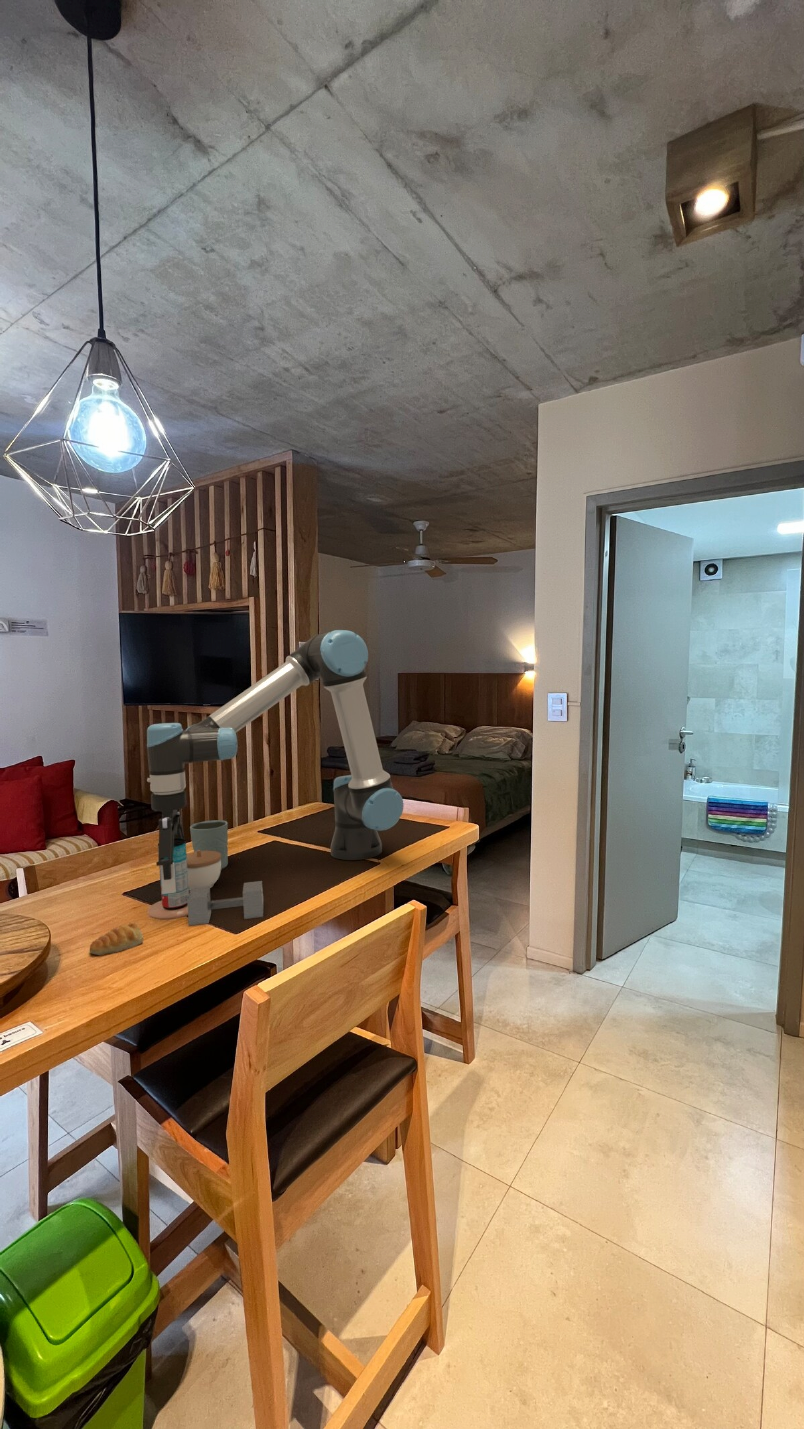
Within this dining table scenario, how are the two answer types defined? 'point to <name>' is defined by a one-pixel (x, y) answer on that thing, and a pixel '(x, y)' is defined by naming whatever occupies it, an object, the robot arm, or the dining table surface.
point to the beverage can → (177, 878)
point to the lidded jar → (203, 868)
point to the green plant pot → (211, 838)
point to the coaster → (166, 912)
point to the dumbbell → (224, 903)
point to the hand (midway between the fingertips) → (174, 882)
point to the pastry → (117, 940)
